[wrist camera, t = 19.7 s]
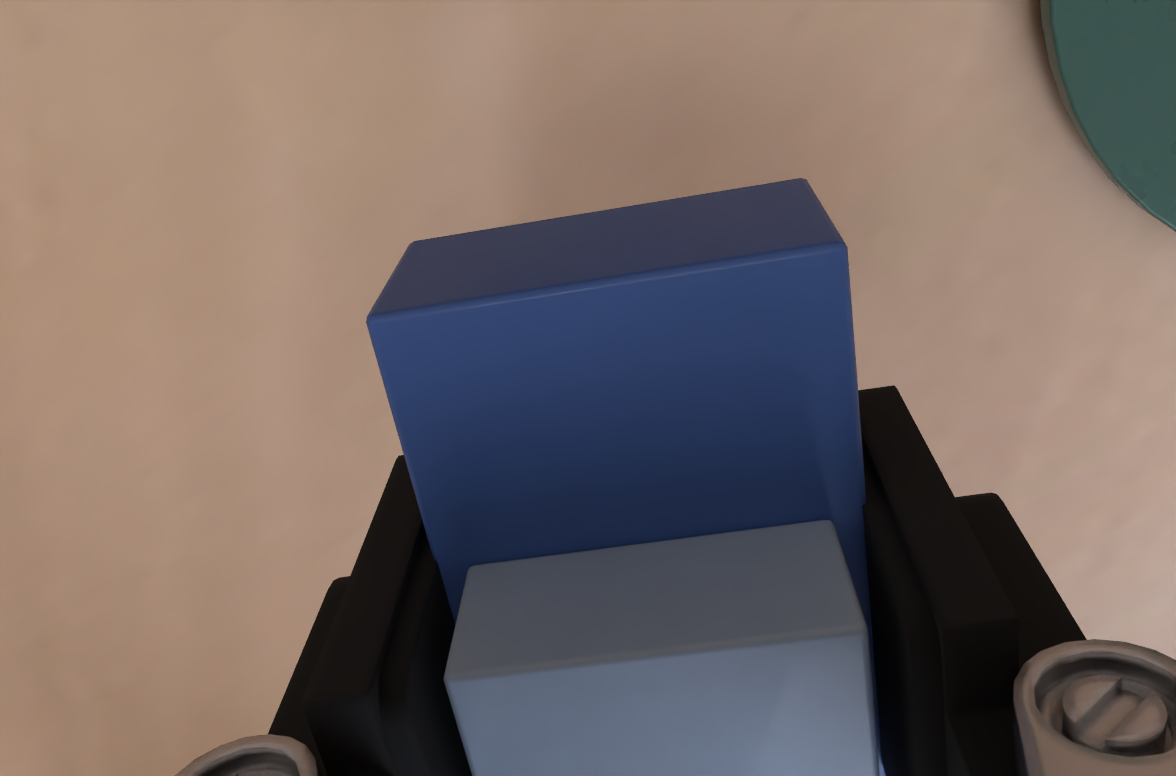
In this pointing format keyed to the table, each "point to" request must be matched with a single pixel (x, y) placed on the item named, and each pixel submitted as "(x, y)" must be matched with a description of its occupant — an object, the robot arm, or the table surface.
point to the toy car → (643, 486)
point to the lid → (1120, 90)
